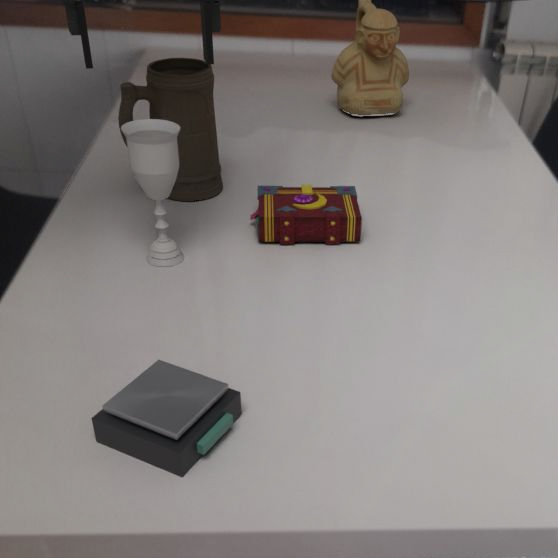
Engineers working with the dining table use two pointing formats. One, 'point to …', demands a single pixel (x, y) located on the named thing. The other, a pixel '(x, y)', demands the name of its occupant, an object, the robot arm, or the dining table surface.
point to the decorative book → (308, 214)
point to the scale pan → (166, 399)
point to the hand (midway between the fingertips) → (150, 63)
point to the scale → (165, 449)
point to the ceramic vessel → (371, 65)
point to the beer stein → (182, 120)
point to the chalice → (156, 176)
